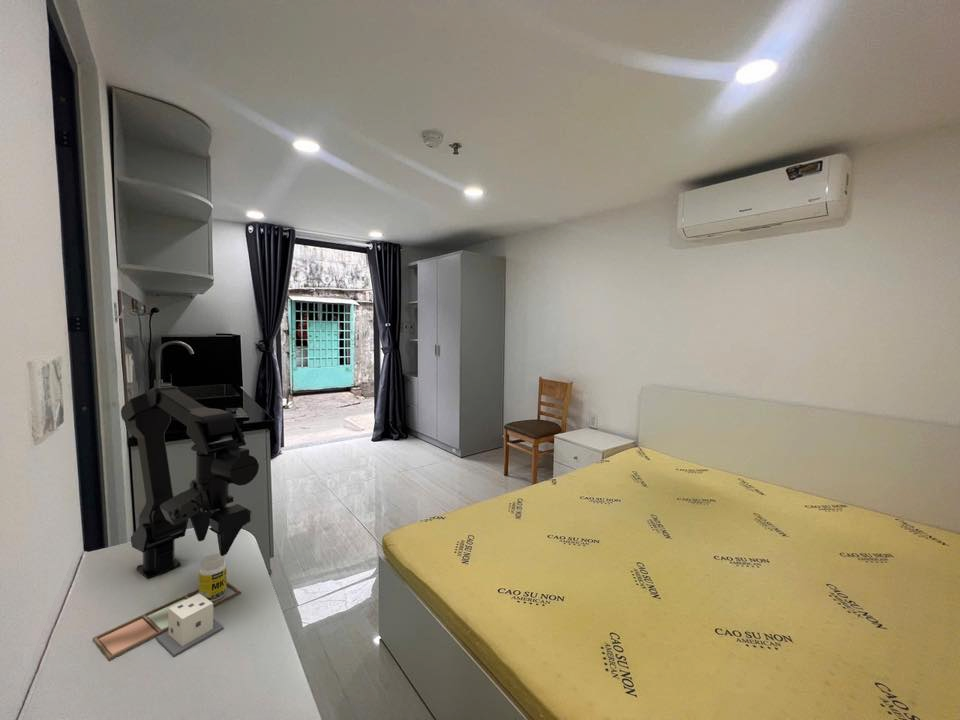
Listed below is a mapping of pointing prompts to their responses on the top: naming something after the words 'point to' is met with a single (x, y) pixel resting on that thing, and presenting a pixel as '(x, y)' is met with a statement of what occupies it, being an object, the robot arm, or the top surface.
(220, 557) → the supplement bottle
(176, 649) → the mat
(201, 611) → the die
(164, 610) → the tray
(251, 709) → the top surface
